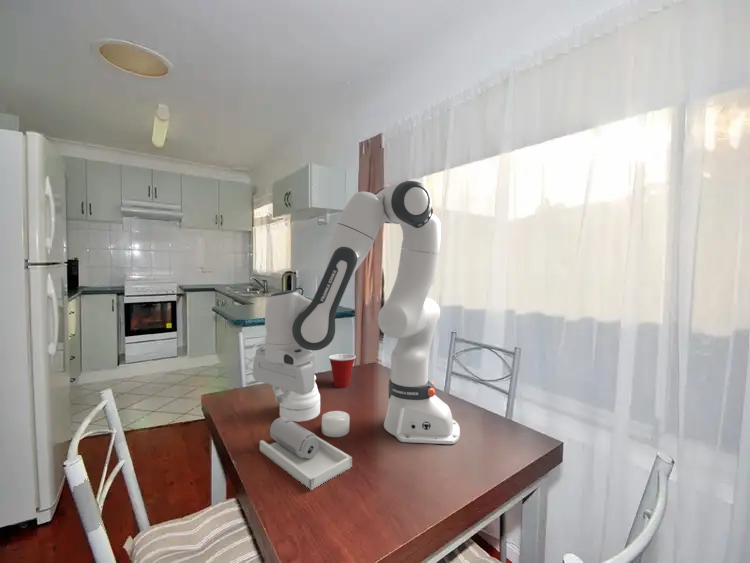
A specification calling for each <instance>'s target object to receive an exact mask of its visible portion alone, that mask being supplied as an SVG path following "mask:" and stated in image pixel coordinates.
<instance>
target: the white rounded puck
mask: <svg viewBox="0 0 750 563" xmlns="http://www.w3.org/2000/svg"><path fill="white" fill-rule="evenodd" d="M350 418H351V417H350V414H349V413H347V412H345V411H342V410H333V411H332V410H331V411H328V412H325V413H323V414H322V416H321V433H322V434H323V435H324V436H326V437H328V438H340V437H344V436H346V435H347V434H348V433H349V432H350Z"/></svg>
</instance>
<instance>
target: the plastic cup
mask: <svg viewBox="0 0 750 563" xmlns="http://www.w3.org/2000/svg"><path fill="white" fill-rule="evenodd" d="M356 357H357V356H356V355H355V354H351V353H336V354H332V355H331V354H330V355H329V356H328V359H329V362H330V367H331V373H332V379H333V385H334V387H335V388H338V389H339V388H340V389H345V388H348V387H349V386H350V382H351V378H352V372H353V368H354V364H355V363H354V362H355V359H356Z"/></svg>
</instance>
